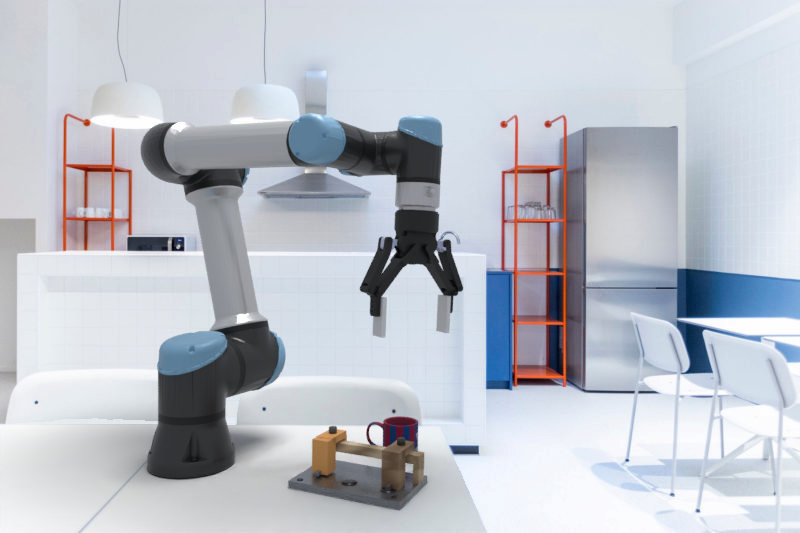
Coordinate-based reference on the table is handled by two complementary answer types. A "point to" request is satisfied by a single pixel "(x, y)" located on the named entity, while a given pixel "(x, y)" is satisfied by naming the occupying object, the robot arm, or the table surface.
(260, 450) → the table surface
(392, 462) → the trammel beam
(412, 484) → the flange plate
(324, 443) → the slider leg
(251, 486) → the table surface
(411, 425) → the mug
